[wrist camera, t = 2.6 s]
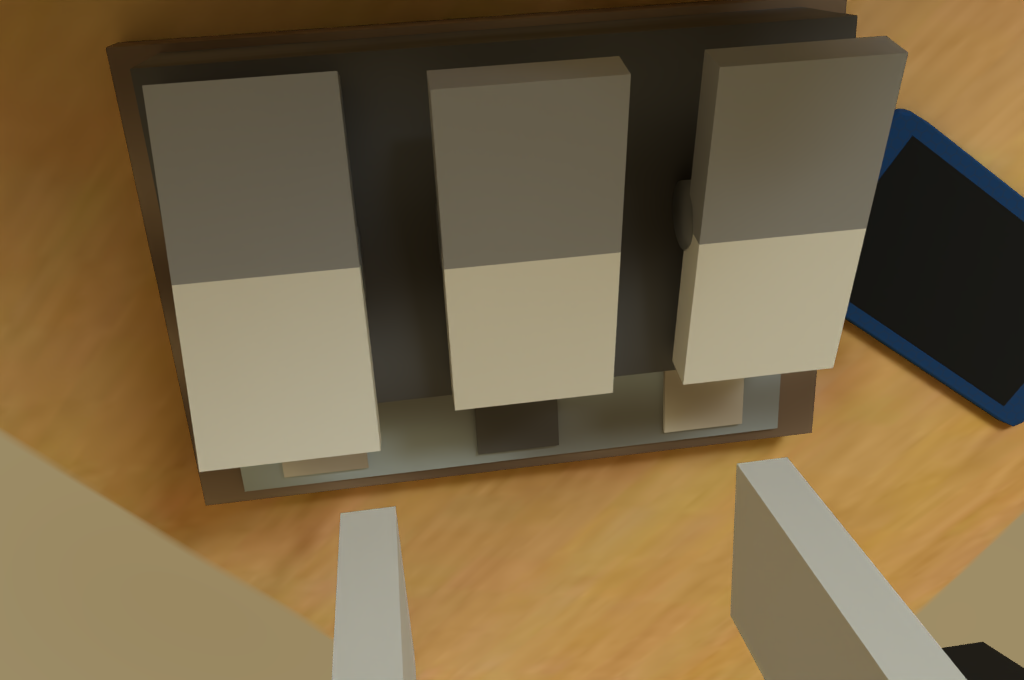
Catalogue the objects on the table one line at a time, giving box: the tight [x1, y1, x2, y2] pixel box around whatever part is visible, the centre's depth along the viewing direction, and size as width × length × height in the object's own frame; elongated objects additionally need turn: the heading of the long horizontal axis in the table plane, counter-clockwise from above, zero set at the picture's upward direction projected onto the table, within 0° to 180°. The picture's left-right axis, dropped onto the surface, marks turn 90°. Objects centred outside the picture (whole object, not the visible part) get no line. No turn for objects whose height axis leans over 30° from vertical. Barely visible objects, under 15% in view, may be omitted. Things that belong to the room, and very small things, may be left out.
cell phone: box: [845, 109, 1024, 426], centre depth 37 cm, size 7×14×1 cm, turn 56°
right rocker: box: [672, 36, 908, 385], centre depth 27 cm, size 10×5×3 cm, turn 4°
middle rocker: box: [427, 56, 631, 411], centre depth 26 cm, size 10×5×3 cm, turn 4°
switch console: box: [106, 0, 857, 505], centre depth 31 cm, size 16×23×5 cm
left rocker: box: [142, 71, 381, 472], centre depth 26 cm, size 10×5×3 cm, turn 2°
